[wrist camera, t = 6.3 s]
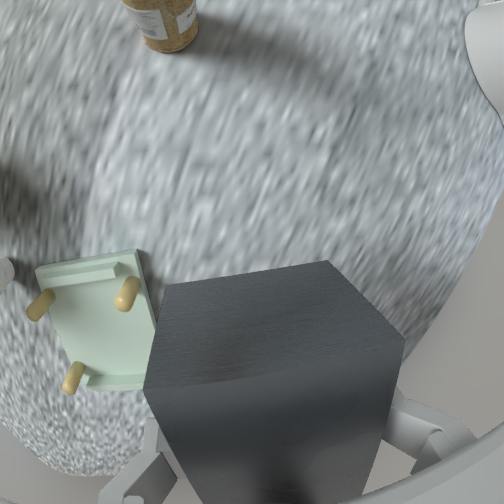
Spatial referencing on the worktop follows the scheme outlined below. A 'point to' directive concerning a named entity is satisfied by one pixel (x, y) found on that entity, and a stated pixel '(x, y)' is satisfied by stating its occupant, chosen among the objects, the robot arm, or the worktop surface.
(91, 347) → the tray
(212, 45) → the worktop surface
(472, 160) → the worktop surface
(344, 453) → the block
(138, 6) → the sprinkles bottle
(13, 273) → the lightbulb
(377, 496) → the robot arm
